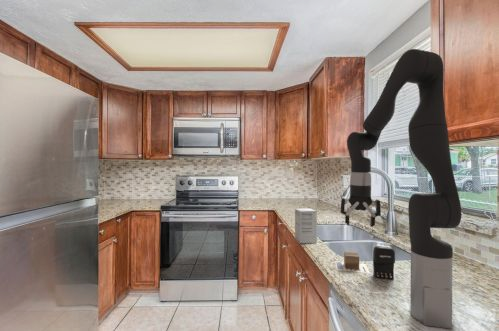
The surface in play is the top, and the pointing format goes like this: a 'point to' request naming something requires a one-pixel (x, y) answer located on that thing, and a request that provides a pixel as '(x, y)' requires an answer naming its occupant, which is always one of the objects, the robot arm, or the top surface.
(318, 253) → the top surface
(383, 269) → the battery
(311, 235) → the supplement box
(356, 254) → the walnut block
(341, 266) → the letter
